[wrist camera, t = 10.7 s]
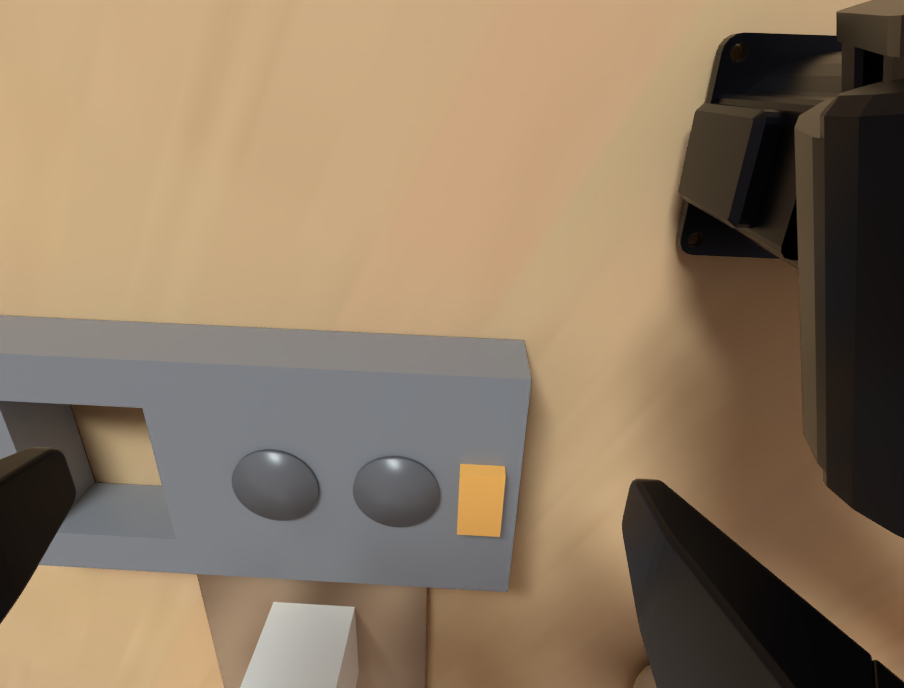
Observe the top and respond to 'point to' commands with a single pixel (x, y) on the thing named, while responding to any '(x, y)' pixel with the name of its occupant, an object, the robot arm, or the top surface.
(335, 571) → the power strip
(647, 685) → the plastic bottle
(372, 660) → the pad
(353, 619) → the plug
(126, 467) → the top surface
